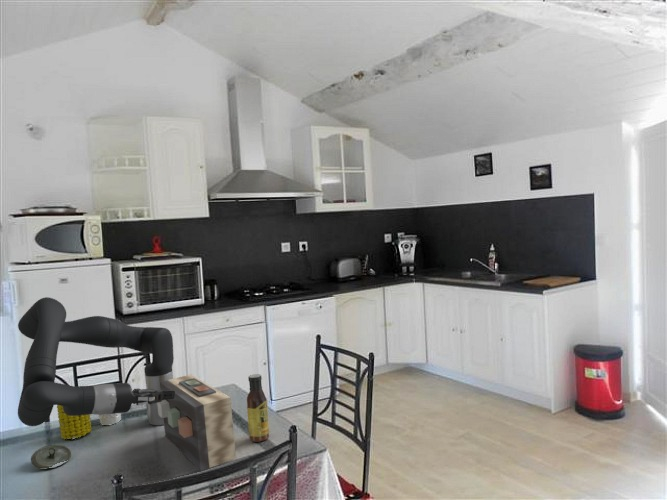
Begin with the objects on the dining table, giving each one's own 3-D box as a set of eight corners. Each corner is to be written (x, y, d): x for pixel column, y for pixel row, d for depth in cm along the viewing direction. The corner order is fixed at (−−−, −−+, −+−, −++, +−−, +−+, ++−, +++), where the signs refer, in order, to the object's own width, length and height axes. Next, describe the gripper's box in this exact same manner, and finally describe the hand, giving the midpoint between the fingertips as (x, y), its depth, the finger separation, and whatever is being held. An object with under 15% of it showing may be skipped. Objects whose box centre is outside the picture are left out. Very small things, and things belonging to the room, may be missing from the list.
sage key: (172, 427, 152) (171, 413, 152) (168, 423, 155) (166, 409, 155) (181, 425, 153) (179, 411, 153) (176, 421, 157) (175, 407, 157)
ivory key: (162, 418, 160) (161, 405, 160) (158, 414, 164) (157, 401, 163) (170, 416, 162) (169, 402, 161) (166, 412, 165) (165, 399, 165)
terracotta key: (184, 438, 144) (182, 423, 144) (179, 433, 147) (177, 419, 147) (192, 435, 145) (191, 420, 145) (187, 430, 149) (186, 416, 148)
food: (66, 448, 169) (61, 440, 177) (103, 429, 176) (96, 422, 184) (49, 406, 166) (45, 400, 175) (87, 389, 173) (81, 384, 181)
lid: (61, 452, 162) (59, 437, 162) (78, 459, 156) (76, 443, 156) (25, 467, 153) (23, 451, 153) (42, 474, 148) (40, 457, 147)
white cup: (103, 419, 188) (100, 392, 188) (125, 417, 189) (122, 390, 188) (95, 427, 181) (92, 400, 180) (118, 425, 181) (115, 397, 181)
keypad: (200, 470, 143) (194, 404, 141) (165, 435, 169) (159, 379, 168) (235, 458, 149) (230, 394, 147) (196, 426, 175) (191, 371, 174)
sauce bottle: (265, 443, 157) (260, 379, 156) (246, 442, 159) (240, 379, 157) (272, 434, 164) (267, 372, 162) (254, 433, 165) (248, 372, 164)
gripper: (99, 410, 137) (162, 405, 148) (116, 417, 127) (183, 411, 138) (102, 381, 138) (164, 378, 149) (119, 386, 128) (185, 382, 139)
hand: (173, 394), depth 144 cm, fingers closed
